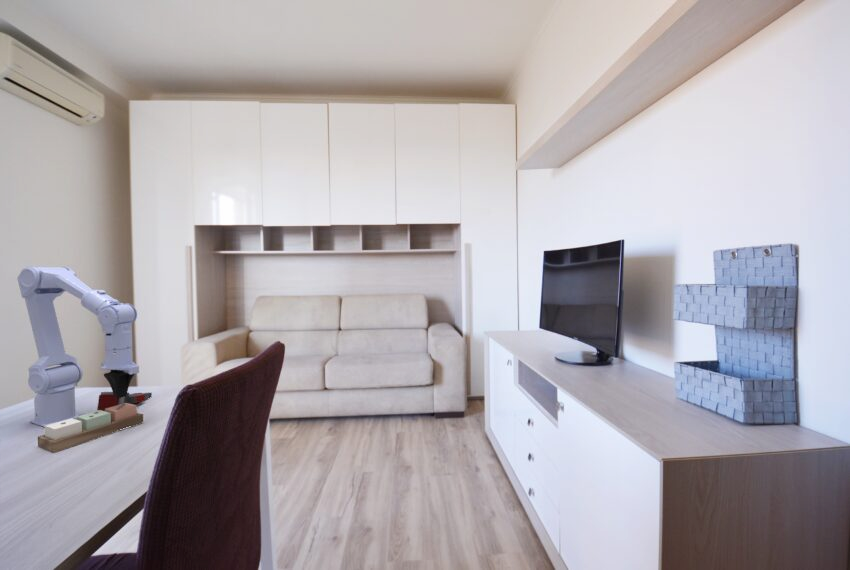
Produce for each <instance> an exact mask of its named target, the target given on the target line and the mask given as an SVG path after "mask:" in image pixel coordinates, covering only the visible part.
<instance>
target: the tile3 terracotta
mask: <svg viewBox="0 0 850 570" xmlns="http://www.w3.org/2000/svg"><path fill="white" fill-rule="evenodd" d="M137 410H138V409H137V405H136V404H134V403H124V404H120V405H117V406H113V407H110V408H106V409H105V412H109V413H111V421H114V422H116V421H119V420H122V419H125V418H128V417H131V416H135V415H137V413H138V412H137Z"/></svg>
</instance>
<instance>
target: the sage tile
mask: <svg viewBox="0 0 850 570" xmlns="http://www.w3.org/2000/svg"><path fill="white" fill-rule="evenodd" d="M80 415H81V416H78V417H77V419H76V420H79V421H82V430H86V431H87V430H90V429H93V428H97V427H100V426H103V425H106V424H109V423H111V413H109V412H105V411H102V410H95V411H92V412H88V413H85V414H80Z"/></svg>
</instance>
